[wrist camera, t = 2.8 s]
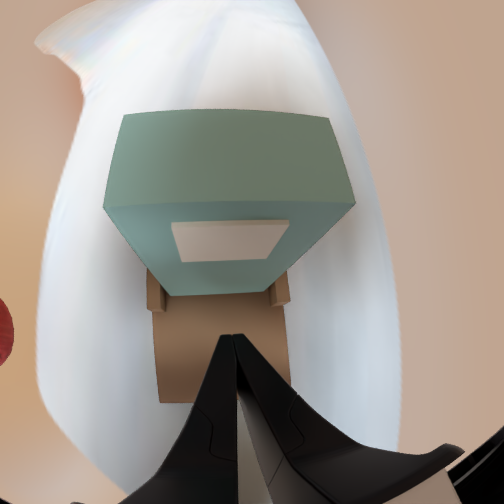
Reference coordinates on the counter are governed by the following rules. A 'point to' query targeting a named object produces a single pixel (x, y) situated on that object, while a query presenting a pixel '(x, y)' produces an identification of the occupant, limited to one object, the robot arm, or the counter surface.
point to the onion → (5, 333)
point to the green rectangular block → (224, 194)
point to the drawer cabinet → (212, 332)
